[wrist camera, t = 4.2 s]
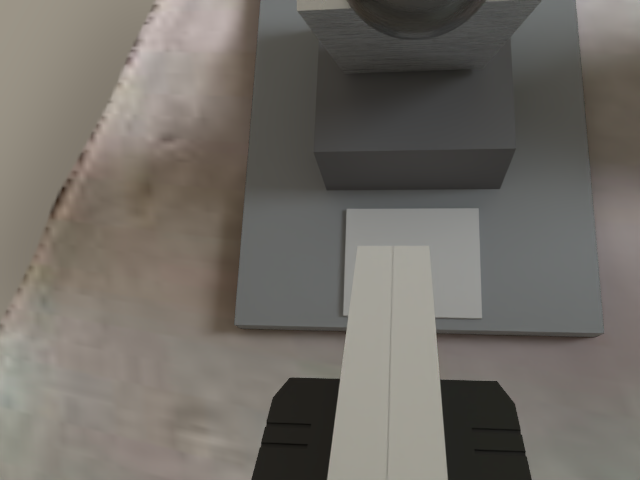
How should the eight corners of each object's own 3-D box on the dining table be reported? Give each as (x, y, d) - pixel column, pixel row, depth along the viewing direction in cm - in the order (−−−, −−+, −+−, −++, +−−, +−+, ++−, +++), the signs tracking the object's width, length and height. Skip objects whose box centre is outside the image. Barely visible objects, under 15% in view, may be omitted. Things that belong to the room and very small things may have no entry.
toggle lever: (482, 91, 25) (573, 13, 11) (344, 95, 26) (274, 28, 12) (484, -2, 24) (580, -199, 11) (343, 5, 25) (269, -170, 12)
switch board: (595, 336, 27) (647, 313, 21) (240, 328, 29) (200, 305, 23) (562, -74, 33) (595, -180, 27) (270, -55, 35) (244, -149, 29)
